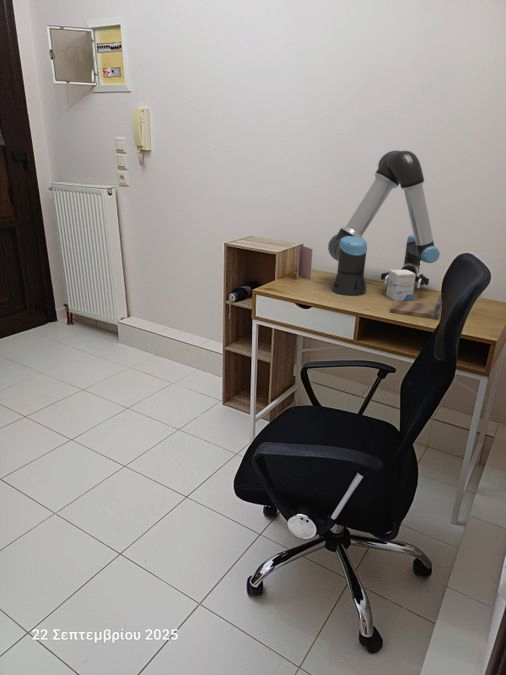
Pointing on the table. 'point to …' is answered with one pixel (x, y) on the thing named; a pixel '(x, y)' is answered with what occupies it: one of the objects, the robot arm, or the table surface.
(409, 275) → the ink box
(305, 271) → the greeting card
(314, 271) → the table surface
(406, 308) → the walnut stand
